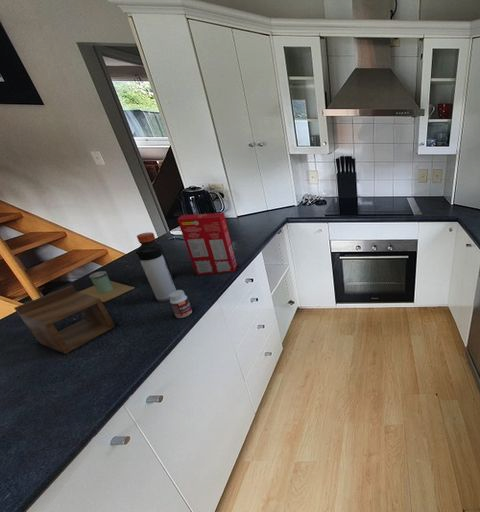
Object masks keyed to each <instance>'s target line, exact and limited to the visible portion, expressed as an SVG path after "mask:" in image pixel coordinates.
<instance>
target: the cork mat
mask: <svg viewBox="0 0 480 512" xmlns="http://www.w3.org/2000/svg"><path fill="white" fill-rule="evenodd" d="M110 281H111V283H112V285H113V287H114V289H113V290H111V291H109V292H107V293H98V291H97V290H96V288H95V286H94V285H92V286H90V287H88V288H85V289H83V290H80V291H79V292H81V293H84V294H87V295H90V296H94V297H97V298H100V299H101V301H102V303H106V302H109V301H111V300H113V299H114V298H117V297H119V296H121V295H124V294H126V293H128V292H130V291H132V290H134V289H136V287H134V286H131V285H126V284H123V283H119V282H116V281H113V280H110Z"/></svg>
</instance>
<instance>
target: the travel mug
mask: <svg viewBox="0 0 480 512" xmlns="http://www.w3.org/2000/svg"><path fill="white" fill-rule="evenodd" d="M135 254H136V255H137V257H138V259H139V261H140V264H141V266H142V269H143V272H144V273H145V277H146V278H147V280H148V283H149V286H150V287H151V290H152V292H153V294H154V297H155V299H156V301H157V302H167V301H170V297H169V294H170V293H171V292H173V291H177V289H176V286H175V283H174V281H173V279H172V278H171V275H170V273H169V270H168V268H167V265H166V262H165V260H164V257H163V255H162V253H161V250H160V248H159V247H158V248H157V247H146V248H141V249H139V248H138V249H136V250H135Z"/></svg>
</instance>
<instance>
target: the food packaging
mask: <svg viewBox="0 0 480 512" xmlns="http://www.w3.org/2000/svg"><path fill="white" fill-rule="evenodd" d="M177 222H178V225H179V228H180V232H181V234H182V237H183V240H184V243H185V247H186V248H187V252H188V256H189V257H190V260H191V263H192V266H193V269H194V273H195V275H196V276H201V275H211V274H212V275H213V274H223V273H234V272H235V271H236V270H237V268H238V263H237V260H236V256H235V252H234V247H233V244H232V240H231V235H230V231H229V228H228V224H227V220H226V216H225V213H224V212H215V213H214V212H212V213H197V214H182V215H181V216H180V217H178V218H177Z"/></svg>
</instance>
